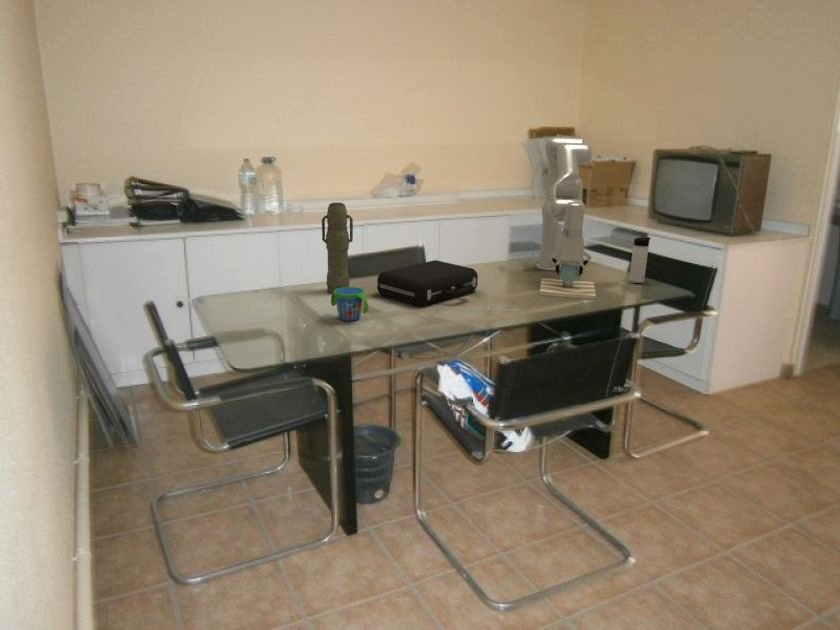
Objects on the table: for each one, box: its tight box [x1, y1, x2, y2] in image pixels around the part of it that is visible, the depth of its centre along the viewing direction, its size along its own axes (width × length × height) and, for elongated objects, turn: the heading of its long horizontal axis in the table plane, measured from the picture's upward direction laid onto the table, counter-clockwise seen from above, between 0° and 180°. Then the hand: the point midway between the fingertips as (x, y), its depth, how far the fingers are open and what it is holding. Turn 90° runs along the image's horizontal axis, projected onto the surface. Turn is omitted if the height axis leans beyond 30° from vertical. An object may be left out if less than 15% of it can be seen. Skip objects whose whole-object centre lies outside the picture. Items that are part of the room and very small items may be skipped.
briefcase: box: [376, 259, 479, 308], centre depth 259 cm, size 36×32×10 cm
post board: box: [539, 277, 597, 300], centre depth 271 cm, size 22×22×10 cm
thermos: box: [321, 202, 354, 295], centre depth 257 cm, size 9×12×35 cm
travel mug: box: [628, 236, 651, 284], centre depth 284 cm, size 6×7×20 cm
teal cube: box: [559, 263, 579, 282], centre depth 270 cm, size 6×6×6 cm
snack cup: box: [330, 286, 369, 322], centre depth 228 cm, size 16×10×10 cm
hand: (568, 274), depth 270 cm, fingers open, 8 cm apart
